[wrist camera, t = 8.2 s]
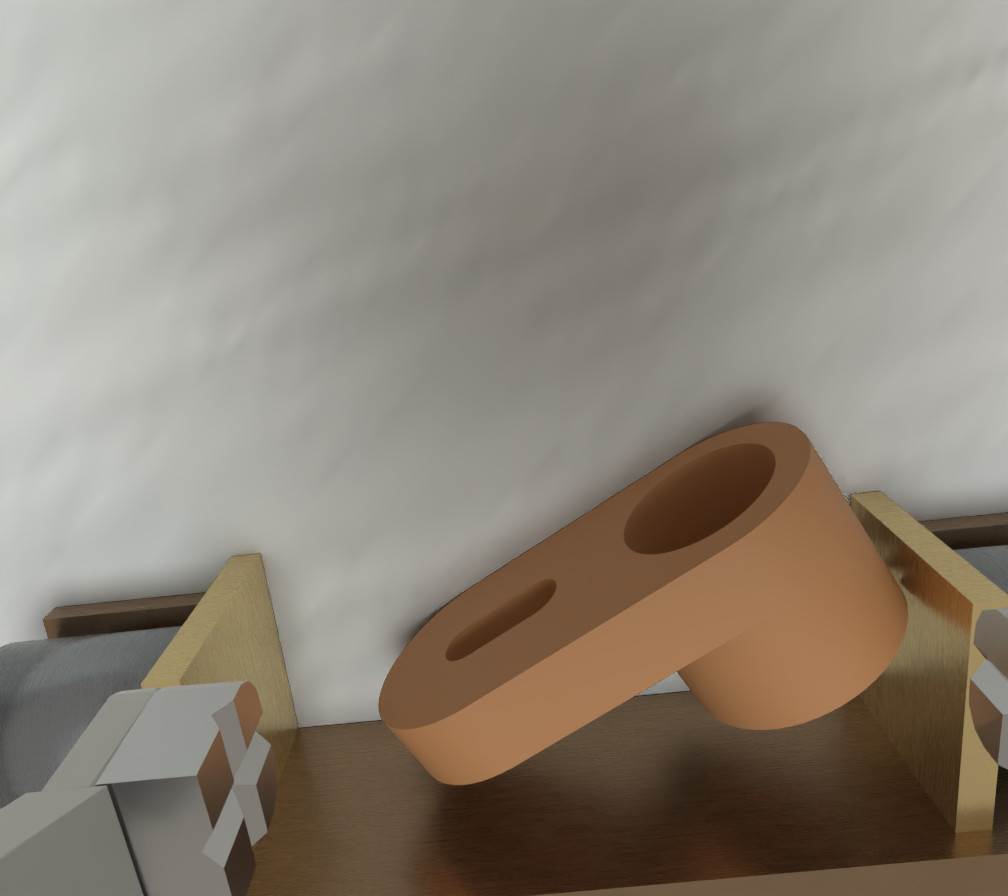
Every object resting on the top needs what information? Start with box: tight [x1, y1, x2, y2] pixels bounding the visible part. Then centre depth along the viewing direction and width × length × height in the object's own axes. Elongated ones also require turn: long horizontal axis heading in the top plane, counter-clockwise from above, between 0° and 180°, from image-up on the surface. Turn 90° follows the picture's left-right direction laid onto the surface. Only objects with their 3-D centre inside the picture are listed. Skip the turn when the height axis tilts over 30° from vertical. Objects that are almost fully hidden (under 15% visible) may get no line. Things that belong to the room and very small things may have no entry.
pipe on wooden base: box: [0, 491, 1008, 896], centre depth 30 cm, size 10×44×10 cm, turn 96°
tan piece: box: [379, 422, 908, 785], centre depth 30 cm, size 18×8×7 cm
